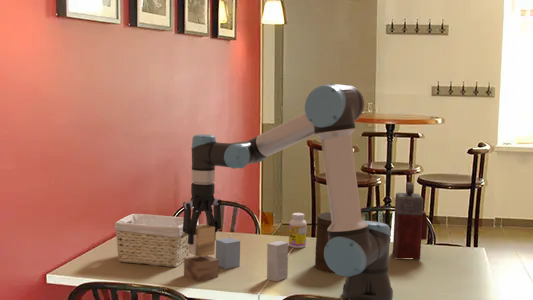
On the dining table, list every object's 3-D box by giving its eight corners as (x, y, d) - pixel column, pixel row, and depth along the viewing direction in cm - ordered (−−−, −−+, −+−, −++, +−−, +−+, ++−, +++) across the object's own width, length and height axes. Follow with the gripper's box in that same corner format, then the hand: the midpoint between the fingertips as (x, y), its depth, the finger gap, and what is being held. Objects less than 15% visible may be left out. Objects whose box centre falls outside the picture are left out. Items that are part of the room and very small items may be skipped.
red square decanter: (426, 260, 248) (430, 185, 245) (395, 259, 248) (399, 184, 245) (422, 253, 257) (426, 181, 253) (392, 252, 257) (396, 180, 254)
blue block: (239, 266, 234) (240, 241, 232) (225, 269, 230) (225, 243, 229) (229, 262, 238) (230, 237, 237) (215, 265, 234) (216, 239, 233)
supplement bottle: (285, 244, 265) (286, 212, 263) (300, 243, 267) (301, 211, 266) (293, 249, 258) (294, 216, 257) (308, 247, 261) (310, 215, 260)
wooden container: (343, 276, 226) (346, 211, 223) (306, 267, 235) (309, 205, 232) (365, 266, 237) (368, 205, 235) (329, 258, 246) (331, 199, 244)
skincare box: (277, 275, 224) (278, 240, 223) (287, 278, 222) (288, 242, 220) (266, 279, 220) (267, 243, 218) (276, 282, 217) (277, 245, 216)
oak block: (214, 254, 220) (214, 227, 219) (198, 256, 216) (199, 229, 215) (204, 250, 225) (204, 223, 224) (188, 252, 221) (189, 225, 220)
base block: (218, 277, 221) (218, 259, 220) (198, 282, 215) (198, 263, 215) (203, 271, 227) (203, 254, 226) (183, 276, 221) (184, 258, 221)
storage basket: (193, 257, 244) (194, 217, 242) (178, 269, 228) (179, 226, 226) (131, 251, 249) (131, 212, 247) (112, 263, 233) (112, 221, 231)
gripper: (220, 178, 227) (219, 245, 229) (171, 183, 215) (170, 253, 218) (233, 181, 221) (232, 250, 223) (183, 186, 209) (182, 259, 212)
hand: (201, 252), depth 221 cm, fingers closed on oak block, 6 cm apart
